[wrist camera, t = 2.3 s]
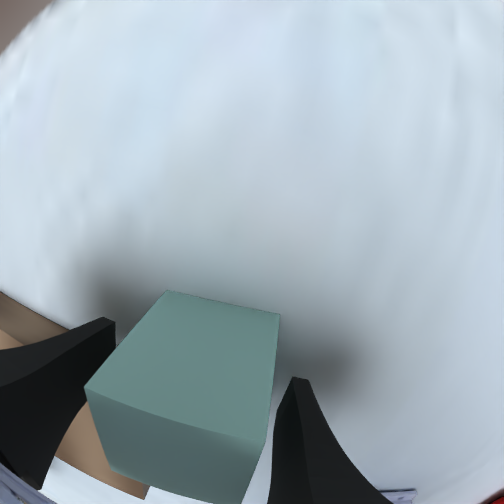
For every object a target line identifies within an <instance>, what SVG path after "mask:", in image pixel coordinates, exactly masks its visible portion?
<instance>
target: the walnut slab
mask: <svg viewBox="0 0 504 504" xmlns="http://www.w3.org/2000/svg"><path fill="white" fill-rule="evenodd" d="M67 331H70V330H68V329H66V328H64V327H62V326H60V325H58V324H56V323H54V322H52V321H50V320H48V319H46V318H44V317H43V316H41V315H39V314H37V313H35V312H33V311H32V310H30V309H28V308H26V307H25V306H23V305H21V304H19V303H18V302H16V301H14V300H13V299H11V298H9V297H8V296H6V295H4V294H3V293H1V292H0V350H2V349H8V348H15V347H20V346H24V345H29V344H32V343H36V342H39V341H42V340H45V339H48V338H51V337H54V336H57V335H60V334H62V333H65V332H67ZM54 456H56V457H58V458H59V459H61V460H62V461H64V462H66V463H68V464H69V465H71V466H73V467H75V468H76V469H78V470H80V471H82V472H84V473H86V474H87V475H89V476H91V477H93V478H95V479H97V480H99V481H101V482H103V483H105V484H108V485H110V486H112V487H114V488H116V489H118V490H121V491H123V492H125V493H128V494H130V495H133V496H135V497H137V498H140V499H143V500H144V499H145V497H146V495H147V492H148V490H149V487H150V485H147V484H144V483H141V482H139V481H136V480H134V479H131V478H128V477H126V476H123V475H121V474H119V473H116V472H114V471H112V470H111V468H110V466H109V463H108V461H107V458H106V456H105V453H104V450H103V448H102V445H101V442H100V439H99V436H98V433H97V430H96V427H95V424H94V421H93V418H92V414H91V411H90V408H89V404H88V401H87V402H86V403H85V405H84V406H83V407H82V408H81V410H80V411H79V412H78V414H77V415H76V417H75V418H74V419H73V421H72V423H71V425H70V426H69V428H68V430H67V432H66V433H65V435H64V437H63V439H62V441H61V443H60V445H59V447H58V449H57V451H56V453H55V455H54Z"/></svg>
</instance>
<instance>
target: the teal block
mask: <svg viewBox="0 0 504 504" xmlns="http://www.w3.org/2000/svg"><path fill="white" fill-rule="evenodd" d="M279 320H280V314H276V313H270V312H265V311H260V310H255V309H250V308H246V307H241V306H236V305H231V304H227V303H222V302H218V301H213V300H209V299H204V298H200V297H195V296H191V295H187V294H182V293H178V292H174V291H170V290H166V291H165V292H164V294H163V295H162V296H161V297H160V298H159V299H158V300H157V302H156V303H155V304H154V305H153V306H152V307H151V308H150V309H149V311H148V312H147V313H146V314H145V315H144V316H143V317H142V319H141V320H140V321H139V322H138V323H137V324H136V326H135V327H134V328H133V329H132V330H131V331H130V332H129V334H128V335H127V336H126V337H125V338H124V339H123V341H122V342H121V343H120V344H119V345H118V347H117V348H116V349H115V350H114V351H113V352H112V354H111V355H110V356H109V357H108V358H107V360H106V361H105V362H104V363H103V364H102V366H101V367H100V368H99V369H98V370H97V372H96V373H95V374H94V375H93V376H92V378H91V379H90V380H89V381H88V382H87V384H86V385H85V386H84V389H85V393H86V397H87V401H88V404H89V408H90V411H91V414H92V418H93V421H94V424H95V427H96V430H97V433H98V436H99V439H100V442H101V445H102V448H103V450H104V453H105V456H106V458H107V461H108V463H109V466H110V468H111V470H112V471H114V472H116V473H119V474H121V475H123V476H126V477H128V478H131V479H134V480H136V481H139V482H141V483H144V484H147V485H150V486H153V487H156V488H159V489H162V490H165V491H168V492H171V493H174V494H178V495H181V496H185V497H189V498H192V499H196V500H200V501H204V502H208V503H213V504H241V503H242V500H243V498H244V496H245V493H246V491H247V488H248V486H249V483H250V481H251V478H252V476H253V473H254V471H255V468H256V466H257V463H258V461H259V458H260V455H261V453H262V450H263V447H264V445H265V442H266V435H267V427H268V419H269V411H270V403H271V395H272V386H273V377H274V369H275V359H276V350H277V340H278V331H279Z"/></svg>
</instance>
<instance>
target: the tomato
mask: <svg viewBox="0 0 504 504" xmlns="http://www.w3.org/2000/svg"><path fill="white" fill-rule="evenodd" d="M491 504H504V496H503V497H501V498H499V499H497V500H496V501H494V502H492V503H491Z"/></svg>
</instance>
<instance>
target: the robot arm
mask: <svg viewBox="0 0 504 504" xmlns="http://www.w3.org/2000/svg"><path fill="white" fill-rule="evenodd" d="M115 349H116V343H115V322H114V321H112V320H109V319H107V318H104V317H101V318H99V319H96V320H94V321H91V322H89V323H86V324H84V325H82V326H79V327H77V328H74V329H72V330H70V331H67V332H65V333H62V334H60V335H57V336H54V337H51V338H48V339H45V340H42V341H39V342H36V343H32V344H29V345H24V346H20V347H15V348H8V349H2V350H0V504H23V503H22V502H21V501H19V500H18V499H17V497H16V496H18V497H19V498H20V499H22V500H23V501H24V502H26V503H27V504H57V503H55V502H54V501H52V500H50V499H49V498H47V497H46V496H44V495H43V494H41V493H40V492H38V491H37V490H41V489H42V486H43V483H44V480H45V477H46V475H47V472H48V469H49V467H50V464H51V462H52V460H53V458H54V455H55V453H56V451H57V449H58V447H59V445H60V443H61V441H62V439H63V437H64V435H65V433H66V432H67V430H68V428H69V426H70V425H71V423H72V421H73V419H74V418H75V417H76V415H77V414H78V412H79V411H80V410H81V408H82V407H83V406H84V405H85V403H86V402H87V397H86V393H85V389H84V386H85V385H86V384H87V382H88V381H89V380H90V379H91V378H92V376H93V375H94V374H95V373H96V372H97V370H98V369H99V368H100V367H101V366H102V364H103V363H104V362H105V361H106V360H107V358H108V357H109V356H110V355H111V354H112V352H113V351H114V350H115ZM416 496H417V492H416V491H405V492H387V493H380V492H379V491H378V490H377V489H376V488H375V487H373V486H372V485H371V484H370V483H369V482H368V481H367V479H366V478H365V477H364V476H363V475H362V474H361V473H360V472H359V470H358V469H357V468H356V467H355V466H354V465H353V463H352V462H351V461H350V459H349V458H348V457H347V455H346V454H345V452H344V451H343V449H342V448H341V446H340V445H339V443H338V441H337V440H336V438H335V436H334V435H333V433H332V431H331V429H330V427H329V425H328V423H327V421H326V419H325V417H324V415H323V413H322V411H321V409H320V407H319V404H318V402H317V400H316V398H315V395H314V393H313V390H312V388H311V385H310V383H309V381H308V380H307V379H302V378H297V377H292V379H291V381H290V383H289V386H288V388H287V390H286V392H285V394H284V396H283V399H282V401H281V403H280V405H279V407H278V409H277V413H276V419H275V425H274V431H273V449H272V471H271V484H270V491H269V497H268V502H267V504H412V499H413V498H415V497H416Z"/></svg>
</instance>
